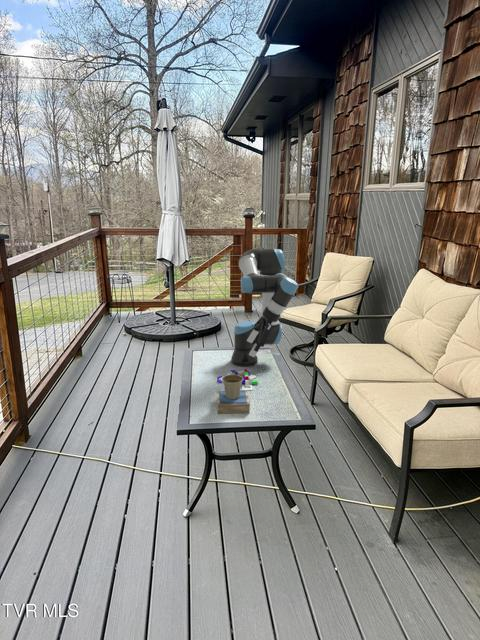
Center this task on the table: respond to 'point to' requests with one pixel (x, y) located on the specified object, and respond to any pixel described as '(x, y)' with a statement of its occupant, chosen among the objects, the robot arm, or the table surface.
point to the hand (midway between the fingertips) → (250, 348)
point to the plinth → (233, 403)
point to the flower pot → (232, 385)
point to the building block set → (247, 379)
